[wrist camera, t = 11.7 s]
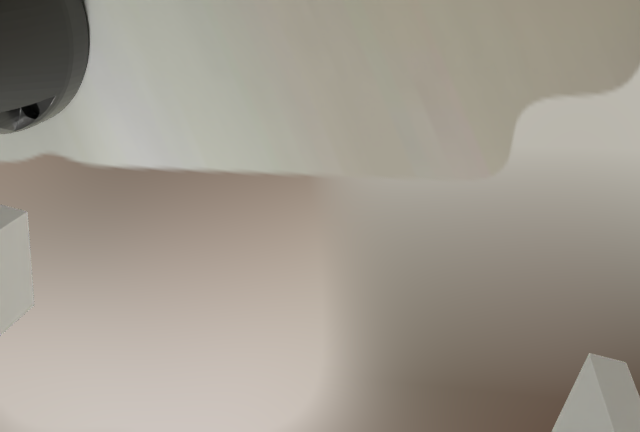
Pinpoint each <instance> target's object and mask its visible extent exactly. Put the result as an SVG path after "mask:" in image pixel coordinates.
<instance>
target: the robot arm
mask: <svg viewBox="0 0 640 432" xmlns="http://www.w3.org/2000/svg"><path fill="white" fill-rule="evenodd" d="M88 50H89V39H88V28H87V21H86V16H85V12H84V8H83V4H82V1H81V0H0V134H7V133H13V132H18V131H22V130H25V129H28V128H30V127H32V126H35V125H37V124H39V123H41V122H43V121H45V120H48V119H49V118H51V117H53V116H55V115H56V114H58V113H59V112H60V111H61V110H63V109H64V108H65V107H66V106H67V105H68V104H69V103H70V101H71V100H72V99H73V97H74V96H75V94H76V93H77V91H78V89H79V87H80V85H81V83H82V80H83V77H84V74H85V70H86V66H87V60H88ZM33 306H34V293H33V279H32V265H31V252H30V239H29V225H28V212H27V211H24V210H20V209H16V208H12V207H8V206H4V205H0V336H1V335H2V334H3V333H4V332H5V331H6V330H7V329H8V328H9V327H11V326H12V325H13V324H14V323H15V322H16V321H17V320H18V319H19V318H21V317H22V316H23V315H24V314H25V313H26V312H27V311H28V310H30V309H31V308H32V307H33ZM552 432H640V397H639V394H638V392H637V389H636V387H635V384H634V382H633V379H632V377H631V374H630V372H629V369H628V367H627V364H626V362H623V361H619V360H615V359H611V358H607V357H602V356H599V355H595V354H591V353H589V355H588V357H587V359H586V361H585V363H584V365H583V367H582V369H581V371H580V374H579V376H578V378H577V380H576V382H575V384H574V386H573V388H572V390H571V392H570V394H569V397H568V399H567V401H566V403H565V405H564V407H563V409H562V411H561V413H560V415H559V417H558V419H557V422H556V424H555V426H554V428H553V430H552Z"/></svg>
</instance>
